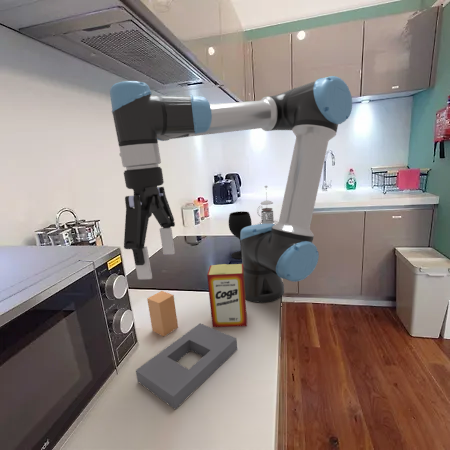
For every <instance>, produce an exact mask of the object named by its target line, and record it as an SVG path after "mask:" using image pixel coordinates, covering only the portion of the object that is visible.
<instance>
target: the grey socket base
mask: <svg viewBox="0 0 450 450" xmlns="http://www.w3.org/2000/svg"><path fill="white" fill-rule="evenodd" d="M237 341H238V340H237V337H234V336H233V335H229V334H227V333H225V332H222V331H220V330H217V329H215V328H214V327H210V326H207V325H205V324H203V323H201V322H200V323H198V324H197V325H195V326H193V328H191V329H190V330H189V331H187V332H186V333H185V334H183V335H181V337H179V338H178V339H176V340H175V341H173V342H172V343H171V344H169V345H168V346H166V347H165V348H164V349H163V350H161V351H160V352H159V353H157V354H155V356H153V357H151V358H150V359H149V360H147V361H146V362H145V363H144V364H142V365H140V367H138V368H137V369H135V376H136V379H137V383H138V382H140V383H141V384H142V385H144V386H145V387H146V388H148V389H149V390H150V391H149V390H148V389H147V390H148V391H149V392H151V391H152V392H153V393H154V394H153V393H152V392H151V393H152V394H153V395H155V396H156V395H157V396H158V397H157V396H156V397H157V398H159V399H160V398H161V399H162V400H161V399H160V400H161V401H163V402H164V401H165V402H164V403H166V404H167V403H168V404H169V405H168V404H167V405H168V406H169V407H171V406H172V407H173V408H172V409H174V408H175V409H176V408H177V407H178V406H179V405H180V404H181V403H182V402H183V401H184V400H185V399H186V398H187V397H188V396H189V395H190V394H191V393H192V392H193V391H194V390H195V389H196V388H197V387H198V386H199V387H200V386H201V385H202V384H203V383H205V382H206V381H207V380H208V378H210V377H211V375H212V374H214V373H215V372H216V370H218V369H219V367H221V366H222V365H223V364H224V363H225V362H226V361H227V360H228V359H229V358H230V357H231V356H232V355H233V354H234V353H235V352H236V351H237V350H238V342H237ZM190 351H191V352H193V353H195V354H197V355H199V356H201V358H200V359H199V360H198V361H196V363H194V364H193V365H192V366H191V367H189V368H187V367H186V366H183V365H182V364H180V363H178V361H179V360H181V359H182V358H183V357H184V356H186V355H187V354H188V353H190ZM186 353H187V354H186ZM181 357H182V358H181ZM177 360H178V361H177ZM176 361H177V362H176ZM140 383H139V384H140ZM141 384H140V385H141ZM142 385H141V386H142ZM144 386H143V387H144ZM145 387H144V388H145ZM199 387H198V388H199ZM146 388H145V389H146ZM198 388H197V389H198ZM197 389H196V390H197ZM196 390H195V391H196ZM195 391H194V392H195ZM194 392H193V393H194ZM193 393H192V394H193ZM192 394H191V395H192ZM191 395H190V396H191ZM190 396H189V397H190ZM189 397H188V398H189ZM188 398H187V399H188ZM187 399H186V400H187ZM186 400H185V401H186ZM185 401H184V402H185ZM184 402H183V403H184ZM183 403H182V404H183ZM182 404H181V405H182ZM181 405H180V406H181ZM180 406H179V407H180ZM179 407H178V408H179ZM178 408H177V409H178ZM175 409H174V410H175ZM177 409H176V410H177Z"/></svg>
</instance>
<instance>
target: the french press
mask: <svg viewBox="0 0 450 450" xmlns="http://www.w3.org/2000/svg"><path fill="white" fill-rule="evenodd" d="M264 188H265V189H267V188H268V185H264ZM265 195H266V200H263V201H261V202H260V204H261V205H259V206H258V208H257V210H256V212H257V214H258V216H259V217H260V218H261V222H260V224H261V223H262V224H273V223H274V222H275V220H274V210H273V208H272V207H265V208H263V207H262V208H261V206H263V205H264V206H268V205H272V204H274V202H273V201H272V200H268V198H267V197H268V196H267V193H265ZM260 209H261V212H260V213H261V214H260V213H259V211H260Z"/></svg>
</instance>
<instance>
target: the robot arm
mask: <svg viewBox="0 0 450 450" xmlns="http://www.w3.org/2000/svg"><path fill="white" fill-rule="evenodd" d="M109 96H110V101H111V103H110V104H111V113H112V117H113V123H114V127H115V133H116V138H117V143H118V147H119V157H120V158H121V164H122V167H123V168H126V170H124V172H123V177H124V182H125V183H124V184H125V187H126V188H127V189H128V190H132V191H133V195H126V196H124V201H125V203H124V204H125V208H126V209H125V219H124V220H125V223H124V224H125V225H124V239H123V248H124V249H125V250H132V254H133V260H134V265H135V269H136V276H137V280H152V279H153V274H152V268H151V263H150V262H151V261H150V256H149V249H148V246H145V245H146V244H145V243H146V237H147V233H148V231H147V230H148V225H149V220H150V218H151V217H152V215H153V216H154V218H155V219H156V221H157V223H158V225H159V226H160V228H159V234H160V241H161V247H162V253H163V255H175V254H176V250H175V245H174V244H175V243H174V237H173V230H172V228H173V227H175V226H176V222H175V217H174V215H173V213H172V210H171V207H170V204H169V201H168V199H167V195H166V192H165V187H164V186H162V185H163V184H164V183H165V181H164V176H163V175H164V174H163V169H162V168H161V166H159V164H161V163H162V161H161V153H160V149H159V148H160V147H159V141H161V142H164V141H165V142H166V141H170V140H173V139H181V138H182V139H183V138H189V137H190V138H191V137H198V136H205V135H206V136H207V135H215V134H222V133H232V132H239V131H240V132H241V131H248V130H249V131H250V130H256V129H257V130H258V129H262V130H263V131H264V132H270V131H292V133H293V134H294V136H295V142H294V146H293V152H292V155H291V156H292V157H291V160H290V165H289V171H288V176H287V179H286V180H287V181H286V186H285V189H284V193H283V194H284V195H283V200H282V204H281V209H280V214H279V219H278V222H277V223H275V224H261V223H258V224H252V225H251V226H247V227H245V228H243V229H242V230H241V234H240V240H239V242H240V241H241V245H240V251H241V252H242V259H241V261H242V262H241V264H243V269H244V283H245V298H246V301H248V302H249V301H250V302H253V303H254V302H255V303H268V302H273V301H276V300H279V299H280V298H281V297H282V296H284V294H285V283H284V282H283V279H284V280H287V281H289V282H293V283H294V282H300V281H304V280H305V279H306V278H307V277H309V276H310V275H311V274H312V273H313V272H314V270H315V269H316V267H317V265H318V262H319V257H320V256H319V251H318V247H317V246H316V245H315V244H314V242H313V241H314V236H315V234H314V233H313V231H312V230H311V222H312V220H313V219H312V218H313V215H314V214H313V213H314V209H315V206H316V199H317V196H318V191H319V186H320V182H321V177H322V173H323V168H324V163H325V158H326V154H327V150H328V145H329V141H330V140H332V139H333V138H335V137H336V136H337V133H338V127H339V125H341V124H343V123H345V122H346V121H347V120H348V119H349V118H350V116H351V113H352V111H353V97H352V93H351V91H350V88H349V85H348V84H347V83H346V82H345V81H344V79H342V78H341V77H339V76H336V75H329V76H327V77H320V78H318V79H316V80H314V81H312V82H309V83H306V84H304V85H300V86H298V87H294V88H291V89H289V90H286V91H284V92H282V93H279V94H275V95H270V96H269V95H268V96H263V97H262V98H261V99H260V100H250V101H238V102H235V101H234V102H224V103H222V102H221V103H210V101H209V100H208V98H206V97H205V96H202V95H201V96H200V95H193V94H190V95H156V94H152V91H151V88H150V85H148V84H147V83H146V82H144V81H137V80H122V81H120V82H116V83H114V84H113V85H112V86H111V87H110V89H109Z"/></svg>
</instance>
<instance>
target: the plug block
mask: <svg viewBox="0 0 450 450" xmlns="http://www.w3.org/2000/svg"><path fill="white" fill-rule="evenodd" d="M174 296H175V295H174V294H172V293H168V292H166V291H163V290H161V291H158V292H157V293H155V294H153V295H151V296H149V297H148V298H147V297H146V298H147V299H146V300H147V305H148V312H149V316H150V317H149V318H150V323H151V329H152V332H154V333H156V334H157V335H160V336H161V337H163V336H165V337H166V336H168V335H169V334H171V333H173V331H175V330H176V329H178V328H179V324H178V318H177V311H176V303H175V297H174ZM167 334H168V335H167Z"/></svg>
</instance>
